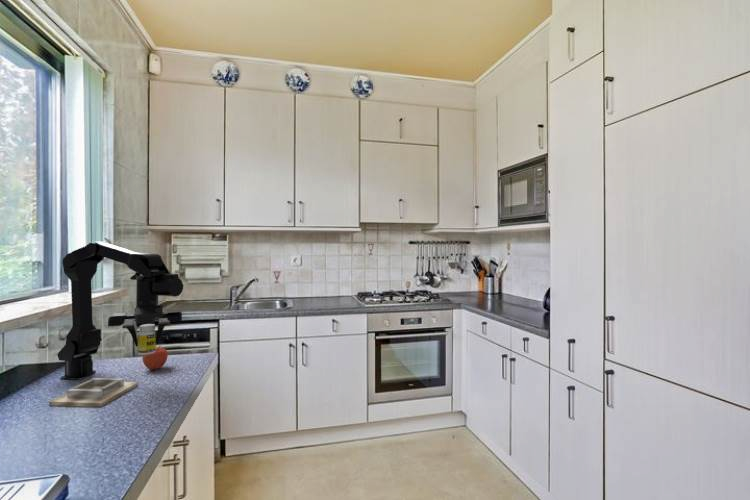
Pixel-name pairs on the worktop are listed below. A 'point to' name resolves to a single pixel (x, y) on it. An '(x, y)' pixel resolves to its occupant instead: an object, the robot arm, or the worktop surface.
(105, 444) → the worktop surface
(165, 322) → the robot arm
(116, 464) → the worktop surface
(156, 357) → the apple
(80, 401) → the carrier plate
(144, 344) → the supplement bottle
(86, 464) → the worktop surface
